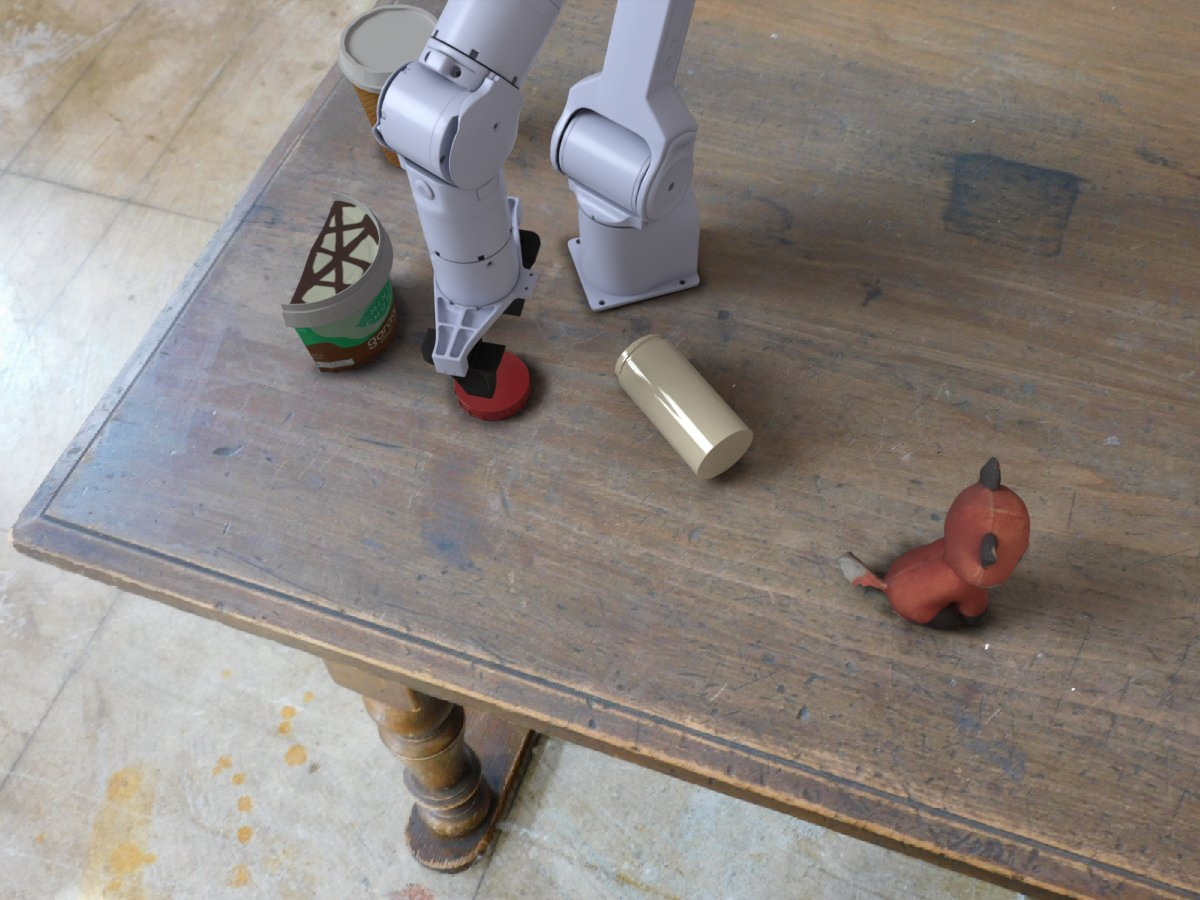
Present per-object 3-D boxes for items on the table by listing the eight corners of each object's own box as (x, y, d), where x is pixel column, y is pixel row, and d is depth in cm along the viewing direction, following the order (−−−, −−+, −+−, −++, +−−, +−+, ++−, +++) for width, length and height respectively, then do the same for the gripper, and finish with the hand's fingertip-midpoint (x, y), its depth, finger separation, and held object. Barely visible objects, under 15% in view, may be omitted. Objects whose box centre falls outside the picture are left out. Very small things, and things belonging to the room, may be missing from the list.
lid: (441, 389, 86) (438, 380, 85) (497, 345, 88) (495, 336, 87) (489, 434, 84) (487, 425, 83) (546, 389, 86) (545, 380, 85)
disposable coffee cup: (488, 132, 101) (470, 23, 90) (427, 197, 97) (400, 91, 86) (408, 96, 103) (381, -13, 93) (345, 158, 100) (310, 51, 89)
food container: (387, 398, 86) (358, 321, 77) (314, 386, 87) (278, 310, 78) (430, 278, 92) (407, 195, 83) (361, 269, 93) (332, 186, 84)
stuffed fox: (831, 532, 78) (859, 449, 68) (988, 538, 78) (1041, 455, 67) (836, 630, 75) (867, 557, 64) (1002, 637, 74) (1059, 565, 64)
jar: (692, 464, 77) (604, 361, 81) (703, 488, 81) (619, 390, 86) (749, 419, 77) (658, 319, 82) (757, 446, 82) (671, 350, 86)
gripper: (496, 328, 66) (520, 441, 77) (556, 157, 73) (569, 285, 84) (387, 309, 67) (427, 424, 78) (456, 143, 74) (483, 271, 85)
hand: (495, 351), depth 81 cm, fingers open, 7 cm apart
